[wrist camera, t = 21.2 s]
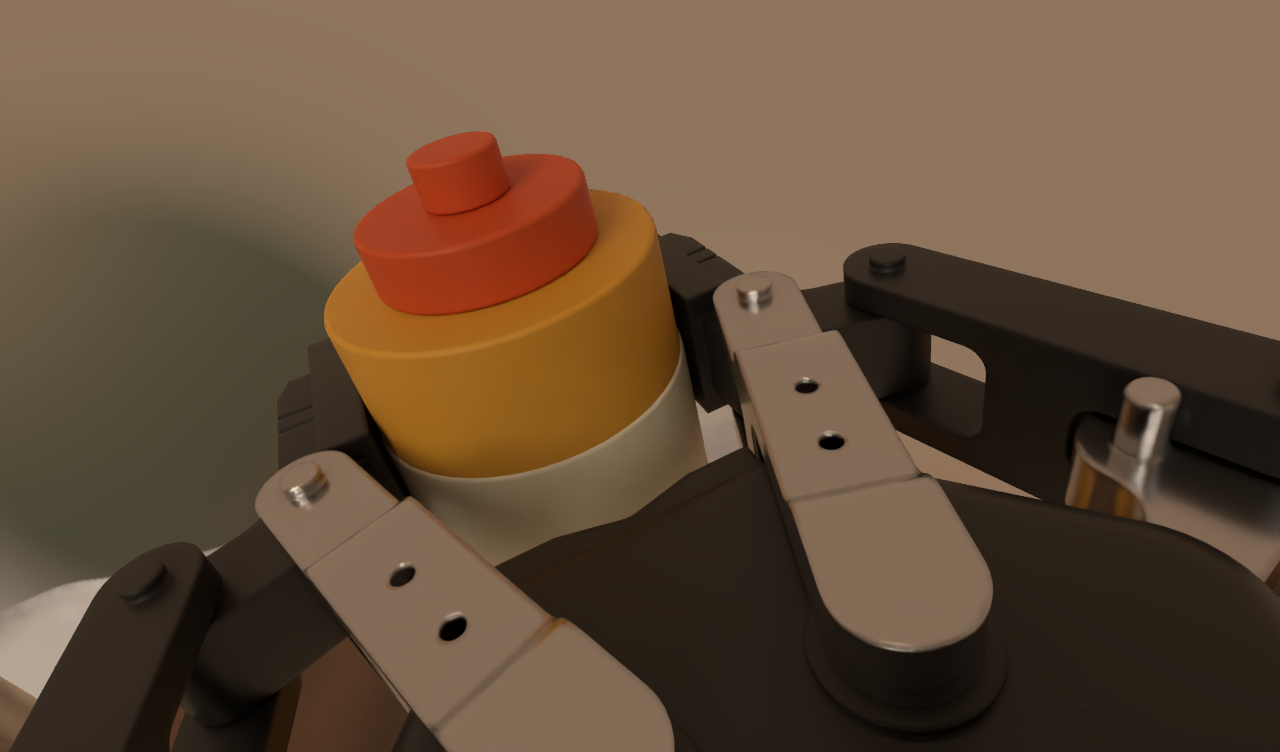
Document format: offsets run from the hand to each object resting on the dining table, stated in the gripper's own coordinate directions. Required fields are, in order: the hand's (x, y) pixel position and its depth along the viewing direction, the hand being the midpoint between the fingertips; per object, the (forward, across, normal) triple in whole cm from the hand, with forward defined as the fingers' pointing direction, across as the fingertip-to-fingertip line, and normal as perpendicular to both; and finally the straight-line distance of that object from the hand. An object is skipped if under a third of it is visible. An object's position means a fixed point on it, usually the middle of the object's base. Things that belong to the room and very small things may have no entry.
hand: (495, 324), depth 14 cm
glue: (-3, 0, +6) cm, 7 cm away
